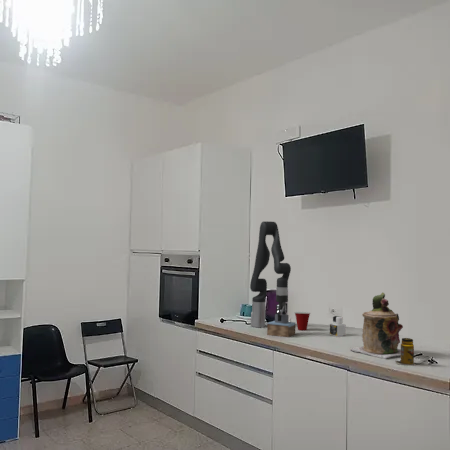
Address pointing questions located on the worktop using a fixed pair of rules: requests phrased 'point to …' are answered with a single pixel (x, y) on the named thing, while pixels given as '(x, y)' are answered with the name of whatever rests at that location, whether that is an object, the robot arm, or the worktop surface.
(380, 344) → the cookie jar
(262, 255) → the robot arm
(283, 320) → the cover plate
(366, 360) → the worktop surface
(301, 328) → the plastic cup
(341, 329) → the medicine bottle
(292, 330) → the wooden box
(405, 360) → the condiment
